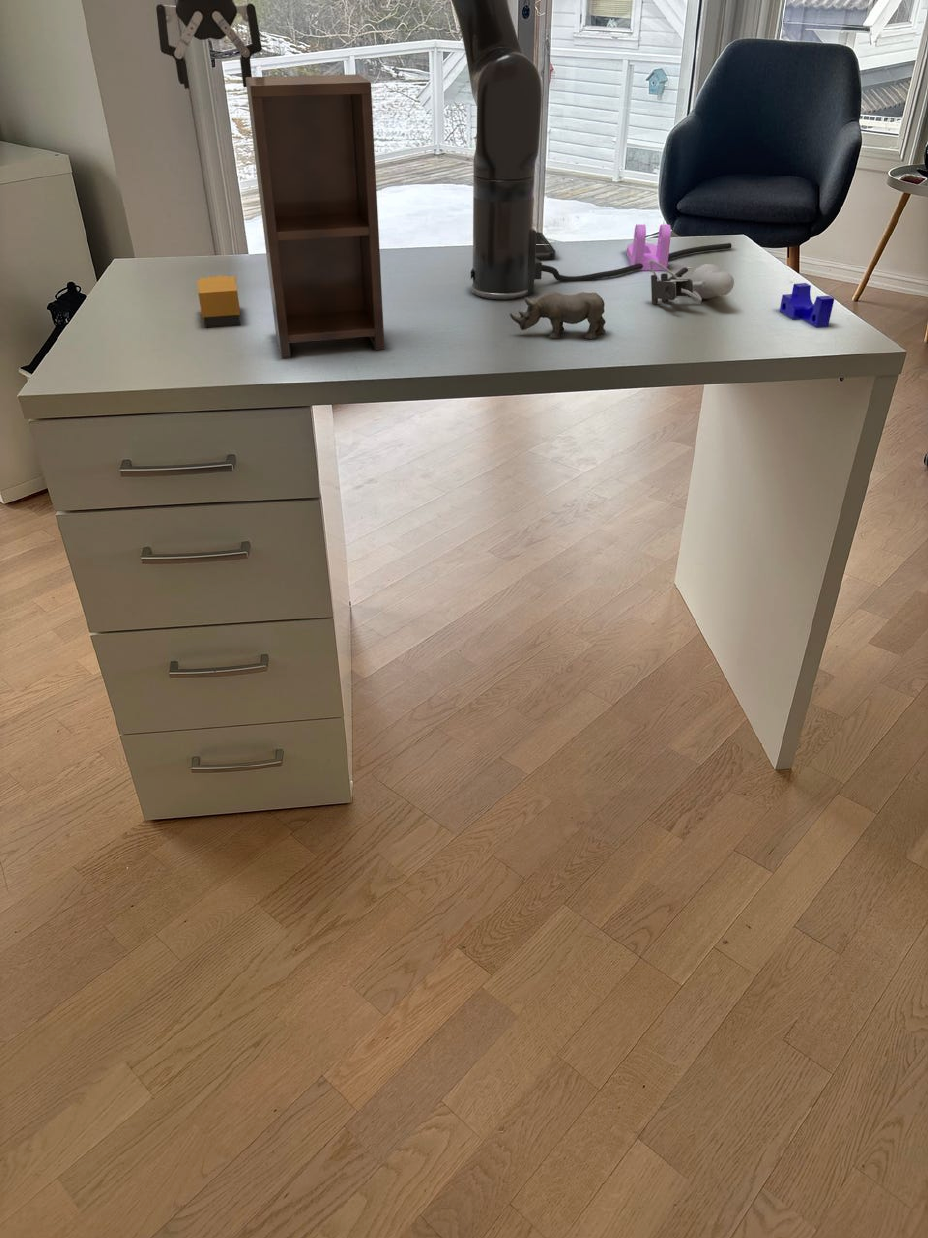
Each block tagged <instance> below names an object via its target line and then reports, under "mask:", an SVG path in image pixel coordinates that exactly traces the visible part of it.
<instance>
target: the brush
mask: <svg viewBox="0 0 928 1238" xmlns="http://www.w3.org/2000/svg"><path fill="white" fill-rule="evenodd" d="M237 287H238V286H237V281H236V276H234V275H232V276H231V275H230V276H225V275H216V276H208V277H202V278H201V277H200V278H197V291H198V293H197V294H198V299H199V300H198V301H199V305H200V312H201V317H202V318H203V321H204V327H205V328H215V327H216V328H217V327H229V326H240V325H241V319H240V315H241V309H240V308H241V307H240V302H239V294H238V288H237Z"/></svg>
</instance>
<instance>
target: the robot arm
mask: <svg viewBox="0 0 928 1238" xmlns="http://www.w3.org/2000/svg"><path fill="white" fill-rule="evenodd" d="M450 1H451V4H452V7H453V9H454V11H455V15H456V17H457V22H458V25H459V29H460V33H461V38H462V44H463V47H464V53H465V58H466V65H467V71H468V76H469V83H470V89H471V95H472V98H473V101H474V104H475V105H476V137H475V138H476V140H475V141H476V142H475V150H474V155H473V158H472V159H473V161H472V162H473V163H472V167H473V169H472V170H473V171H472V173H473V175H472V179H473V180H472V181H473V183H472V269H471V270H470V280H472V284H471V292H472V293H473V294H474V295H475V296H478V297H480V298H481V297H482V298H486V299H491V300H493V299H494V300H514V299H519V298H523V297H527V296H529V295H534V294H535V280H542V275H543V272H544V273H549V274H552V275H553V278H554V280H556V281H557V282H563V283H572V282H573V283H574V282H589V281H592V280H599V279H604V278H611V277H615V276H616V277H617V276H621V275H624V274H629V273H631V272H635V271H639V270H638V269H641V268H643V265H642V264H640V263H639V264H635V265H631V264H630V265H629V266H625V267H621V268H616V269H613V270H606V271H600V272H595V273H589V274H584V275H575V276H573V275H570V276H568V275H563V274H560V273H559V271H558V269H557V268H555V267H553V266H551V265H546V264H543V262H541V260H538V259H537V258H536V257H535V256H536V232H537V231H536V229H534V228H533V224H534V223H533V222H534V202H535V201H534V200H535V176H536V162H537V159H538V155H539V149H540V134H541V119H542V104H543V103H542V102H543V101H542V98H543V89H542V87H543V86H542V80H541V76H540V73H539V70H538V68H537V67H536V65H535V64H534V62H533V61H532V60H531V59H529V58H528V57H527V56H526V55H525V54H524V52H523V49H522V47H521V43H520V41H519V37H518V35H517V32H516V31H517V30H516V27H515V25H514V21H513V18H512V15H511V11H510V7H509V1H508V0H450ZM256 9H257V8H256V6H255V5H254V4H253V3H252V2H248V3H246V4H235V2H234V0H176V4H175V5H170V4H169V5H166V4H163V3H158V4H156V7H155V11H156V20H157V28H158V30H157V31H158V39H159V47H160V52H161V53H162V54H164V55H167V56H170V57H172V58H173V60H174V62H175V67H176V74H177V79H178V82H179V84H180V85H183V88H184V89H185V90H188V89H190V83H189V76H188V69H187V62H186V57H185V58H184V55H185V54H186V51H187V49H188V47H189V46H190V44H191V42H192V40H193V38H195V39H198V41H205V40H208V39H211V40H212V39H213V40H222V39H224V38H228V39H229V41H230V42H231V43H232V45H233V46H234V47H235V48H236V49H237V50H238V52H239V54H240V57H239V63H240V71H241V72H240V73H241V81H242V87H243V88H247V86H246V77H253V73H252V72H253V71H252V64H251V58H252V56H253V55H255V54H258V53H260V52H261V51H262V49H263V48H262V41H261V35H260V28H259V23H258V15H257V10H256ZM237 14H239V15H240V16H241V18H242V20H243V21H244V22H246V23H248V30H249V35H250V42H251V43H249V44H247V45H246V44H245V43H244V42H243V41H242V39H241V38H240V37H239V35H238V34H237V33H236V32H235V31H234V29H233V28H232V25H233V23H234V21H235V20H236V17H237ZM175 15H176V16H177V17H178V19H179V20H180V21H181V23H182V24H183V25H184V26H185V29H184V30H183V33H182V34H181V36H180V38H179V41H178V43H177V44H176V46H174V45H171V44H170V42H169V41H170V40H169V39H170V38H169V31H168V30H169V29H168V24H170V23H171V22H172V21H173V16H175ZM731 248H732V243H731V242H726V243H717V244H716V243H715V244H709V245H701V246H693V247H689V248H684V249H680V250H676V251H673V252H669V254H668V260H671V259H675V258H678V257H681V256H685V255H691V254H697V253H702V252H710V251H719V250H720V251H721V250H729V249H731Z"/></svg>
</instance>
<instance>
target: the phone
mask: <svg viewBox="0 0 928 1238" xmlns="http://www.w3.org/2000/svg"><path fill="white" fill-rule="evenodd" d="M536 244H549V245H536V256H535V257H536V258H537V259H538V260H539V261H541V260H554V259H555V258H556V250H555V248H554V247H553V246H552V245H551V243H550V242H549V240H548V239H547V238H546V236H545V234H544V233H542V232H539V231H536Z"/></svg>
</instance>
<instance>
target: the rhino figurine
mask: <svg viewBox="0 0 928 1238" xmlns="http://www.w3.org/2000/svg"><path fill="white" fill-rule="evenodd" d="M524 302H525V304H526V305H527V309H526V311H525V312H523V311H520V310H519V311H518V314H519V315H520V316H517V315H516V316H515V315H514V314H513V313H511V312H509V315H510V318H511V319H512V321H514V322H515V323H517V324H518V325H519V328H520V330H521V331H525V330H527V329H529V328H531V327H534V326H535V325H536V324H537V323H538V322H540V319H541V318H543V319H548V320H549V321H550V325H551V327H552V328H551V329H552V331H551V333H550V334H549V339H553V340H555V339H558V338H559V337H560V336H561V335H560V334H561V333H563V332H564V331H565V327H564V323H565V324H569V325H574V324H575V325H576V324H579V323H582V322H583V321H585V320H587V322H588V324H589V325H588V330H587V332H586V333H585V334H584V339H587V340H588V339H589V340H592V339H595V338H596V337H597V335H602V334H603V335H604V334H605V333H606V330H605V324H606V319H605V318H604V317H603V315H604V313H605V311H606V310H605V306H606V305H605V301H604V299H603V297H602V296H601V295H600V294H598V293H597V292H585V291H581V292H578V293H575V294H569V295H568V294H563V293H561V292H558V291H549V292H546V293H543V294H542V295H541V296H538V297H537V298H535V299H533V300H531V299H530V298H528V297H527V296H524Z"/></svg>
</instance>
